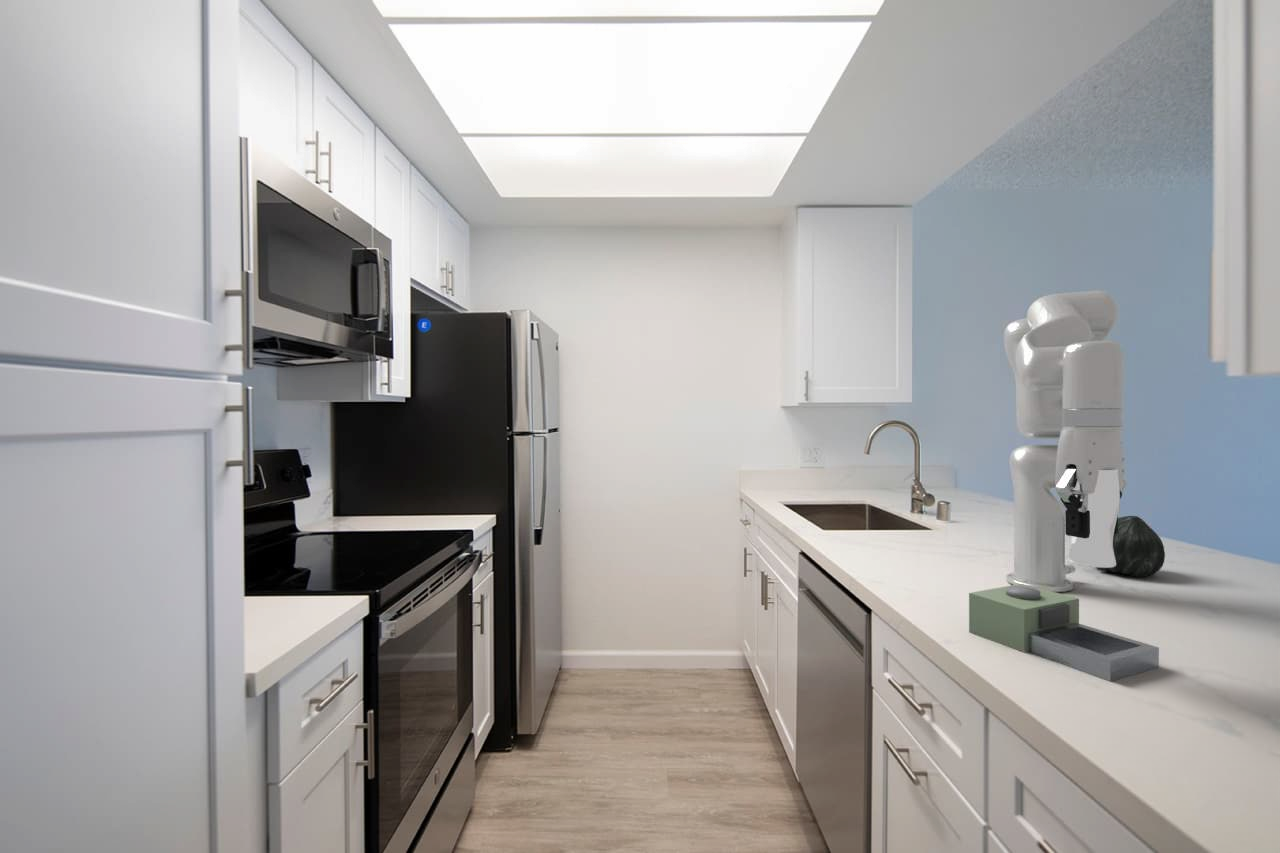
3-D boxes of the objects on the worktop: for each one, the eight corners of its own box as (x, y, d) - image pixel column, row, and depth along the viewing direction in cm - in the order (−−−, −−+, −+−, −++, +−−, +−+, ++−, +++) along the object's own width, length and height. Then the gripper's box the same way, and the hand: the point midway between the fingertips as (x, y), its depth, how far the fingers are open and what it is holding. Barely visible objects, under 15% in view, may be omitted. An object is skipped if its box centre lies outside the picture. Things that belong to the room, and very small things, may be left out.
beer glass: (1069, 555, 98) (1068, 465, 98) (1122, 562, 94) (1122, 467, 93) (1060, 563, 94) (1059, 468, 93) (1116, 571, 89) (1116, 471, 88)
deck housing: (1022, 620, 111) (1022, 578, 111) (1082, 640, 102) (1082, 593, 101) (969, 631, 106) (969, 587, 106) (1027, 653, 96) (1027, 604, 96)
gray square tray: (1075, 639, 102) (1075, 622, 102) (1158, 666, 91) (1158, 647, 91) (1028, 651, 97) (1028, 633, 97) (1110, 681, 86) (1110, 660, 86)
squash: (1075, 540, 155) (1089, 502, 146) (1147, 546, 149) (1166, 508, 140) (1085, 586, 146) (1100, 550, 136) (1162, 595, 140) (1184, 558, 130)
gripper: (1100, 420, 100) (1099, 526, 100) (1031, 421, 93) (1031, 535, 94) (1152, 420, 93) (1152, 534, 93) (1082, 421, 86) (1082, 544, 87)
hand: (1091, 533), depth 93 cm, fingers closed on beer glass, 6 cm apart
